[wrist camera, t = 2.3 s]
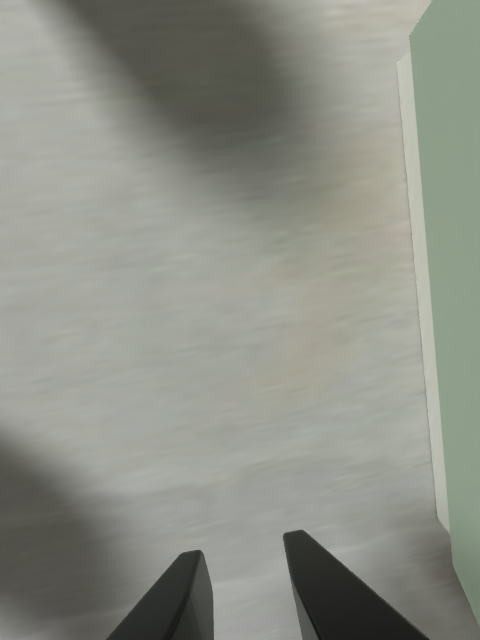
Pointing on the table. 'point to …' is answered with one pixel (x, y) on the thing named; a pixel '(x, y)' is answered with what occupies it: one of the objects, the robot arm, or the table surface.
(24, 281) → the table surface
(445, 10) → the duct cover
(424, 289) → the cable duct
